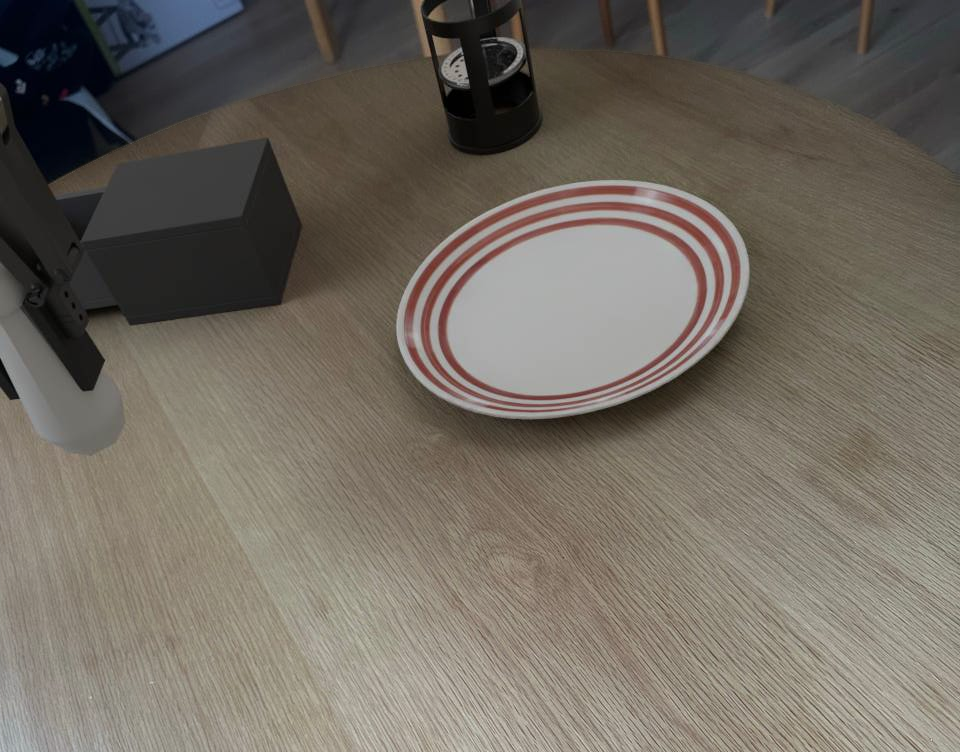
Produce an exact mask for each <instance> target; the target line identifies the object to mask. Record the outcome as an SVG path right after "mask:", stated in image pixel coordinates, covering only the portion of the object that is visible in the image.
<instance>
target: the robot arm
mask: <svg viewBox="0 0 960 752" xmlns="http://www.w3.org/2000/svg"><path fill="white" fill-rule="evenodd" d="M13 114H14V113H13V110H12V106H11V101H10V96H9V93H8V90H7V88H6V87H5V85H3V84H2V83H1V82H0V262H1V263H2V264H3V265H4V266H5V267H6V269H7V270H8V271H9V272H10V273H11V274H12V275H13V276H14V277H15V278H16V279H17V280H18V281H19V282H20V284H21V285H22V286H23V287H24V288H25V289H26V290H27V291H28V293H27V295H26V297H25V299H24V301H23V303H22V305H23V306H24V308H25V309H26V311H27V312H28V313H29V315H30V316H31V318H32V319H33V321H34V322H35V324H36V325H37V327H38V328H39V329H40V331H41V332H42V334H43V335H44V337H45V338H46V340H47V341H48V343H49V344H50V346H51V347H52V348H53V350H54V351H55V353H56V354H57V356H58V357H59V359H60V360H61V362H62V363H63V365H64V366H65V367H66V369H67V370H68V372H69V373H70V375H71V376H72V378H73V379H74V381H75V382H76V384H77V385H78V386H79V388H80V389H81V390H82V391H83V392H84V391H92V390H94V387H95V385H96V382H97V380H98V377H99V375H100V372H101V370H102V369H103V367H104V365H105V362H106V359H105V357H104V356H103V354H102V353H101V351H100V349H99V348H98V347H97V344H96V343H95V342H94V340H93V339H92V337H91V336H90V334H89V333H88V331H87V326H88V324H89V316H88V313H87V311H86V310H85V309H84V308H83V307H82V305H81V303H80V301H78V298H77V297H76V295H75V293H74V292H73V290H72V289H71V287H70V285H69V284H68V283H70V281H71V280H72V278H73V276H74V273H75V271H76V269H77V267H78V265H79V262H80V260H81V258H82V256H83V253H84V249H83V246H82V244H81V242H80V241H79V239H78V237H77V235H76V234H75V232H74V230H73V228H72V226H71V225H70V223H69V221H68V219H67V218H66V216H65V214H64V212H63V211H62V209H61V207H60V205H59V203H58V202H57V200H56V198H55V194H54V193H53V191H52V189H51V188H50V186H49V184H48V183H47V180H46V179H45V177H44V175H43V173H42V171H41V169H40V167H38V164H37V162H36V160H35V159H34V157H33V155H32V154H31V152H30V150H29V148H28V147H27V145H26V143H25V141H24V140H23V138H22V136H21V135H20V132H19V130H18V129H17V127H16V124H15V121H14V120H15V119H14V115H13ZM0 389H1V391H2V392H3V393H4V394H5V396H6V397H7V399H8V400H9V401H15V400H21V399H20V397H19V395H18V393H17V391H16V389H15V387H14V385H13V383H12V381H11V379H10V377H9V375H8V373H7V370H6V368H5V366H4V364H3V362H2V360H1V358H0Z"/></svg>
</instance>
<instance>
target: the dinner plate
mask: <svg viewBox="0 0 960 752" xmlns="http://www.w3.org/2000/svg"><path fill="white" fill-rule="evenodd" d="M750 269H751V267H750V259H749V255H748V249H747V247H746V244H745V242H744V240H743V237H742V235H741V234H740V232H739V230H738V229H737V227H736V226H735V225H734V223H733V222H732V221H731V220H730V219H729V218H728V217H727V216H726V215H725V214H724V213H723V212H722V211H721V210H719V209H718V208H717V207H715V206H714V205H712V204H711V203H709V202H708V201H706V200H704V199H702V198H700V197H698V196H697V195H693V194H692V193H689V192H686V191H683V190H681V189H678V188H675V187H672V186H669V185H665V184H660V183H654V182H650V181H649V182H648V181H641V180H627V179H601V180H589V181H580V182H572V183H567V184H561V185H557V186H556V185H555V186H551V187H549V188H544V189H539V190H537V191H534V192H531V193H528V194H525V195H522V196H519V197H516V198H513V199H511V200H510V201H507V202H504V203H502V204H500V205H498V206H496V207H494V208H491V209H489V210H487V211H485V212H484V213H482V214H480V215H479V216H476V217H475V218H473V219H472V220H470V221H468V222H467V223H465V224H463V226H461V227H460V228H457V230H455V231H454V232H453V233H452V234H450V235H449V236H447V237H446V238H445V239H444V240H443V241H442V242H441V243H439V244H438V246H436V247H435V248H434V249H433V250H432V251H431V252H430V253H429V255H427V256H426V258H425V259H424V260H423V261H422V262H421V264H420V265H419V266H418V268H417V269H416V271H415V272H414V274H413V275H412V277H411V278H410V280H409V282H408V283H407V286H406V288H405V290H404V292H403V294H402V297H401V300H400V302H399V306H398V310H397V314H396V322H395V323H396V325H395V326H396V327H395V329H396V339H397V344H398V348H399V351H400V354H401V356H402V359H403V360H404V363H405V365H406V366H407V368H408V369H409V371H410V373H411V374H412V375H413V376H414V377H415V378H416V380H418V382H419V383H420V384H421V385H422V386H424V387H425V388H426V389H427V390H429V391H430V392H431V393H433V394H434V395H436V396H437V397H438V398H440V399H442V400H444V401H446V402H448V403H449V404H452V405H454V406H456V407H458V408H461V409H462V410H466V411H469V412H473V413H476V414H479V415H484V416H489V417H494V418H502V419H503V418H504V419H510V420H516V419H518V420H545V419H547V420H548V419H557V418H558V419H559V418H567V417H573V416H578V415H583V414H588V413H592V412H596V411H597V412H598V411H600V410H605V409H607V408H611V407H614V406H615V407H616V406H618V405H620V404H624V403H626V402H629V401H632V400H634V399H636V398H639V397H641V396H642V395H646V394H648V393H650V392H653V391H655V390H657V389H658V388H660V387H661V386H663V385H665V384H667V383H669V382H671V381H672V380H674V379H676V378H677V377H679V376H680V375H682V374H683V373H684V372H686V371H688V370H689V369H690V368H692V367H693V366H695V365H696V364H697V363H698V362H699V361H701V360H702V359H703V358H705V356H706V355H708V354H709V353H710V352H711V351H712V350H713V349H714V348H715V347H716V346H717V345H718V344H719V343H720V342H721V341H722V339H723V338H724V337H725V336H726V335H727V333H728V331H729V330H730V329H731V327H732V326H733V325H734V323H735V321H736V319H737V318H738V316H739V314H740V312H741V310H742V308H743V305H744V303H745V300H746V297H747V294H748V290H749V285H750V275H751V274H750V273H751V272H750V271H751V270H750Z"/></svg>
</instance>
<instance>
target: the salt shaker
mask: <svg viewBox="0 0 960 752" xmlns="http://www.w3.org/2000/svg"><path fill="white" fill-rule="evenodd" d="M27 293H28V291H27V290H26V289H25V288H24V287H23V286H22V285H21V284H20V282H19V281H18V280H17V279H16V278H15V277H14V276H13V275H12V274H11V273H10V272H9V271H8V270H7V269H6V267H5V266H4V265H3V264H2V263H1V262H0V358H1V360H2V362H3V364H4V366H5V368H6V370H7V373H8V375H9V377H10V379H11V381H12V383H13V385H14V387H15V389H16V391H17V393H18V395H19V397H20V399H19V400H20V402H21V404H22V406H23V408H24V411H25V412H26V413H27V416H28V418H29V420H30V423H31V424H32V426H33V429H34V430H35V433H36V434H37V435H38V436H39V437H40V438H42V439H43V440H44V441H46V442H48V443H50V444H52V445H54V446H56V447H58V448H60V449H62V450H64V451H65V452H67V453H70V454H76V455H81V456H88V457H92V456H94V455H96V454H98V453H99V452H101V451H103V450H105V449H107V448H109V447H111V446H113V445H115V444H117V442H118V440H119V438H120V435H121V433H122V431H123V429H124V426H125V424H126V417H125V410H124V409H125V408H124V403H123V396H122V394H121V391H120V390H119V388H118V385H117V384H116V382H115V381H114V379H113V378H112V377H111V376H110V375H109V374H108V372H107V371H105V370H104V369H103V368H102V370H101V372H100V375H99V377H98V380H97V382H96V385H95V387H94V390H92V391H84V392H83V391H82V390H81V389H80V388H79V386H78V385H77V384H76V382H75V381H74V379H73V378H72V376H71V375H70V373H69V372H68V370H67V369H66V367H65V366H64V365H63V363H62V362H61V360H60V359H59V357H58V356H57V354H56V353H55V351H54V350H53V348H52V347H51V346H50V344H49V343H48V341H47V340H46V338H45V337H44V335H43V334H42V332H41V331H40V329H39V328H38V327H37V325H36V324H35V322H34V321H33V319H32V318H31V316H30V315H29V313H28V312H27V311H26V309H25V308H24V306H23V305H22V303H23V301H24V299H25V297H26V295H27Z"/></svg>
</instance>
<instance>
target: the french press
mask: <svg viewBox="0 0 960 752" xmlns="http://www.w3.org/2000/svg"><path fill="white" fill-rule="evenodd" d="M447 1H448V0H423V1H422V2H421V5H420V14H421V18H422V22H423V28H424V31H425V35H426V40H427V44H428V48H429V52H430V56H431V61H432V65H433V69H434V72H435V79H436V82H437V86H438V90H439V94H440V98H441V103H442V107H443V112H444V115H445V119H446V124H447V128H448V129H447V137H448V140H449V143H450V145H451V146H452V147H453V148H454V149H455V150H457V151H459V152H461V153H464V154H467V155H476V156H477V155H481V156H482V155H492V154H498V153H502V152H504V151H505V152H506V151H508V150H511V149H513V148H516V147H517V146H520V145H522V144H523V143H525V142H527V141H528V140H529V139H530V138H532V137H533V136H534V135H535V134H536V133H537V132H538V131H539V130H540V128H541V126H542V123H543V117H544V116H543V110H542V108H541V106H540V105H539V100H538V94H537V88H536V87H537V86H536V81H535V76H534V70H533V63H532V57H531V50H530V45H529V38H528V33H527V26H526V20H525V14H524V6H523V1H522V0H508V1H507V2H506V3H504V4H503V5H502V6H500V7H498V8H497V9H494V10H493V7H492V3H491V0H467V3H468V8H469V12H470V16H471V17H470V19H466V20H460V21H439V20H435V19H432V18H430V15H431V13H432V12H433V11H435V9H437V8H438V7H440V5H442V4H443V3H445V2H447ZM517 13H518V14H519V19H520V25H521V33H522V37H523V38H522V39H523V42H522V41H520V40H517V39H515V38H511V37H504V36H499V37H498V35H497V30H496V29H497V28H499V27H501V26H503V25H505V24H507V22H509V21H510V20H512V19H513V18H514V17H515V16H516V15H517ZM433 36H434V37H436V38H439V39H449V40H453V39H456V40H457V39H459V42H460V47H458V48H456V49H454V50H453V51H451V52H450V53H448V55H446V56H445V57H444V58H443V59H442V61H441V62H440V63H439V59H438V54H437V50H436V46H435V42H434V37H433ZM526 63H527V68H528V72H526V71H524V70H522V69H523V68H524V66H525V65H526ZM445 86H446V87H448V88H450V90H449V91H448V92H446V89H445ZM498 106H515V107H513V108H512V109H509V110H506V111H505V112H502V113H500V114H497V115H496V113H495V107H498ZM473 115H475V117H476V118H471V117H472V116H473Z"/></svg>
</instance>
